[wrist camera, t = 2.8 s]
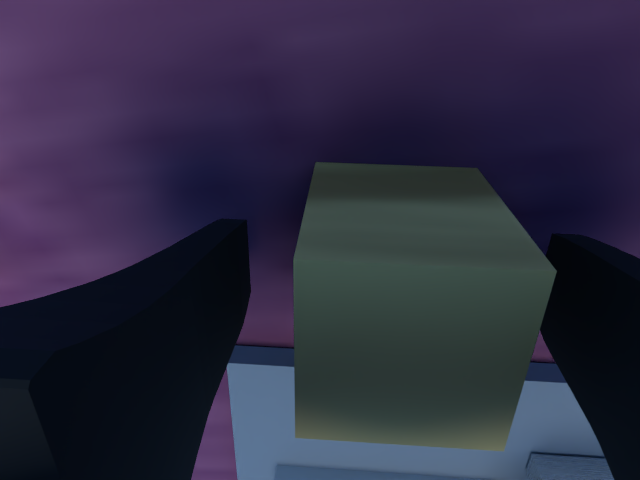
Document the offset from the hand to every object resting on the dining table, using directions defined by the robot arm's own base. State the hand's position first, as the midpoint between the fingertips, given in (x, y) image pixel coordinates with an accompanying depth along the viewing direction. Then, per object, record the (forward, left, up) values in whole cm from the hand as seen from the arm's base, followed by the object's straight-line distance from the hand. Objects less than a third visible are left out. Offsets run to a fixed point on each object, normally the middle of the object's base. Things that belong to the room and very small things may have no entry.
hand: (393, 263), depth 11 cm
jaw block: (0, 0, -2) cm, 2 cm away
